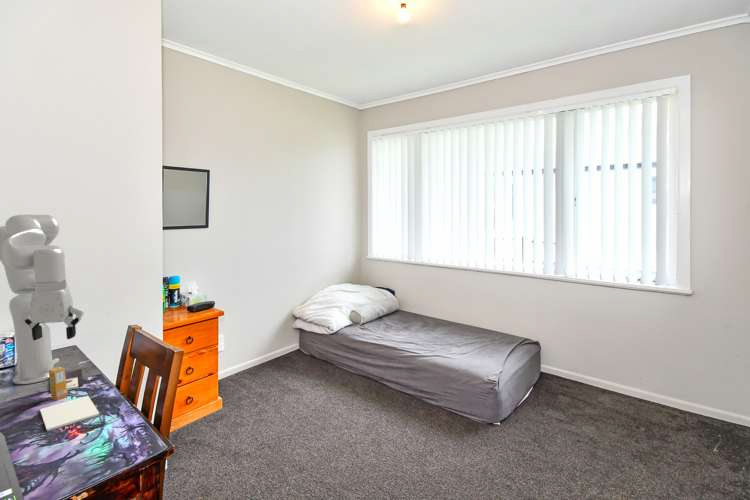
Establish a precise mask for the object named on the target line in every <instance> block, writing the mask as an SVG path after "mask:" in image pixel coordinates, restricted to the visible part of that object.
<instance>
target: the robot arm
mask: <svg viewBox="0 0 750 500" xmlns="http://www.w3.org/2000/svg"><path fill="white" fill-rule="evenodd" d="M4 224H5V225H4V226H0V262H1V264H2V265H3V268H4V271H5V275H6V279H7V283H8V285H9V289H10V290H11V292H12V293H13V294H16V295H15V296H14V297H12V298H11V299H10V300H9V304H8V307H9V312H10V315H11V318H12V322H13V328H14V336H15V348H16V350H15V351H16V361H17V363H16V364H17V372H18V373H17V375H15V376H14V377H12V384H15V385H29V384H35V383H39V382H43V381H46V380H50V379H49V370H51V369H53V368H55V367H54V366H55V365H57V364H58V363H60V358H58V357H55V358H53V354H52V351H53V350H52V338H51V329H50V326H49V325H48V324H49V323H50V324H51V323H52V324H54V323H62V322H63V323H64V324H65V325H66V328H65V331H66V332H65V334H66V340H71V339H73V338H74V337H76V334H77V332H76V331H77V330H76V329H77V327H76V326H77V325H78V323H80V321H81V320H82V318H83V316H84V314H85V313H84V311H81V310H80V309H78V308H75V307H74V305H73V304H74V303H73V302H74V301H73V297H72V294H71V291H70V289H69V286H68V281H67V277H66V262H65V251H64V249H62V248H61V247H60V246H58V245H55V244H52V242H53V241H54V240H55V239H56V238H57V236H58V235H59V231H60V226H59V222H58V221H57V218H55V217H54V216H52V215H50V214H16V215H12V216H10V217H9V218H8V219H7V220H6V221H5V223H4ZM74 315H75V318H73V317H74ZM47 323H48V324H47Z"/></svg>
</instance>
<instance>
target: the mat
mask: <svg viewBox="0 0 750 500" xmlns="http://www.w3.org/2000/svg"><path fill="white" fill-rule="evenodd" d="M39 411H40V414H41V417H42V420H43V424H44V426H45V429H46V431H47V432H49V431H52V430H57V429H59V428H62V427H65V426H69V425H72V424H74V423H78V422H82V421H84V420H89V419H91V418H95V417H98V416H100V412H99V410H98V409H97V407H96V406H95V404H94V402H93V401H92V400H91V398H90V396H89V395H86V396H83V397H79V398H75V399H72V400H68V401H64V402H61V403H57V404H54V405H50V406H45V407H42V408H40V409H39Z"/></svg>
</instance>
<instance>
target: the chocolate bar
mask: <svg viewBox="0 0 750 500" xmlns="http://www.w3.org/2000/svg"><path fill="white" fill-rule="evenodd" d="M65 378H66V387H67V391H68V390H73V389H76V388H77V387H78V388H81V386H82V387H84V384H83V383H84V380H83V373H82V368H79V369H74V370H69V371H65ZM78 388H77V389H78ZM48 391H49V393H48V394H50V395H51V389H50V388H49V389H48Z"/></svg>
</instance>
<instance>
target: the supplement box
mask: <svg viewBox="0 0 750 500" xmlns="http://www.w3.org/2000/svg"><path fill="white" fill-rule="evenodd" d="M65 372H66V371H65V367H61V366H57V367H54V368H53V369H51V370H49V379H48V380H49V390H50V389H51V393H50V397H51V400H53V401H57V400H58V401H60V400H62V398H63V399H64V398H67V397H68V390H67V387H66V378H65ZM59 399H60V400H59Z"/></svg>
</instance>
